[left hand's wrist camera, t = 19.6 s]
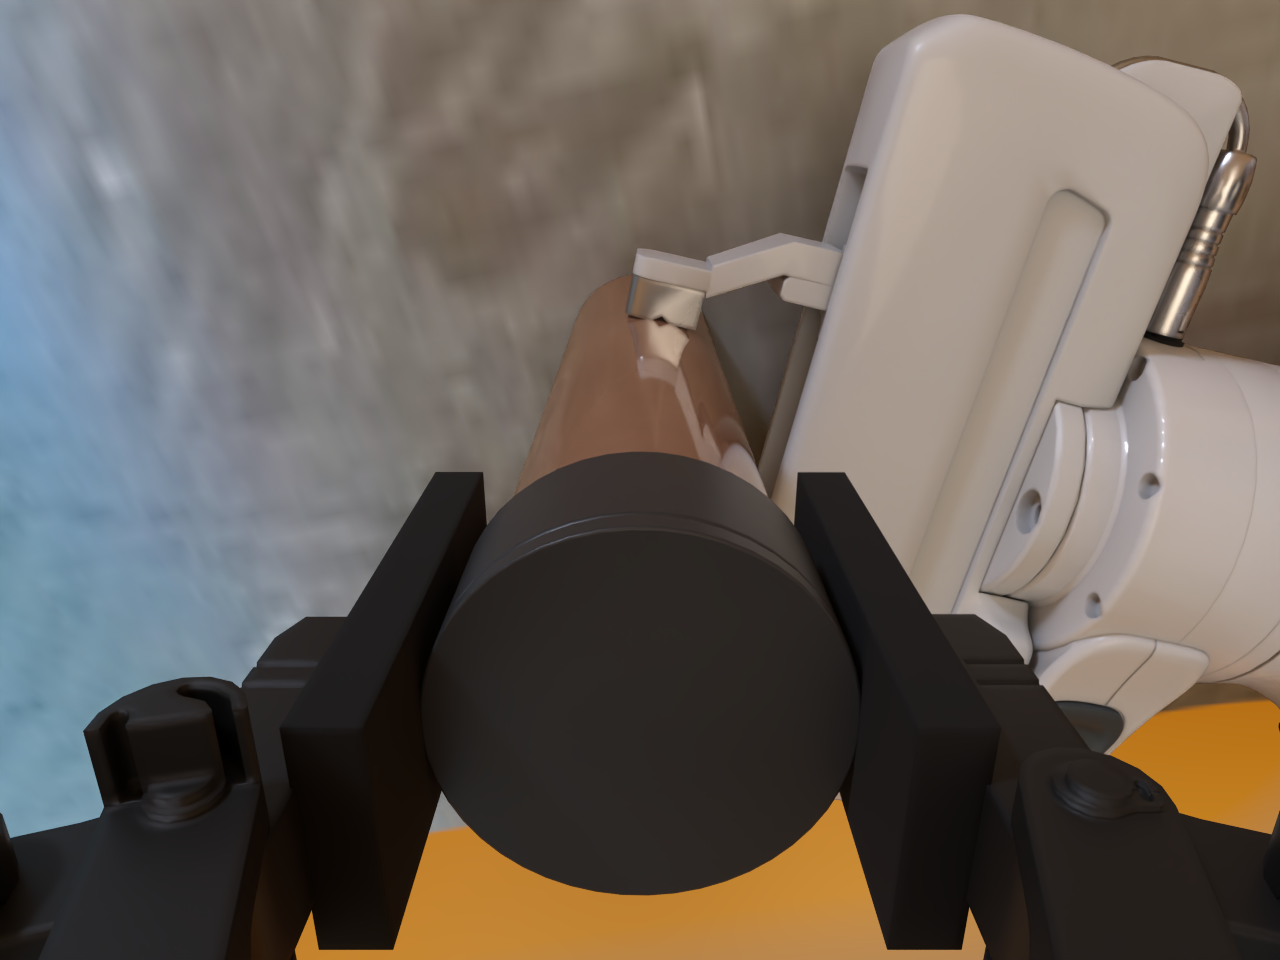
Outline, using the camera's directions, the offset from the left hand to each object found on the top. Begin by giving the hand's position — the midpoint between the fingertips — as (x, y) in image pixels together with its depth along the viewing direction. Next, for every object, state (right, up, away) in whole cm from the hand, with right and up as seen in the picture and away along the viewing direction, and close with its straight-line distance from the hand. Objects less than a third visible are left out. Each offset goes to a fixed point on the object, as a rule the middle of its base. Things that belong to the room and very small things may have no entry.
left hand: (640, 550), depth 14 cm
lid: (0, -2, -4) cm, 4 cm away
